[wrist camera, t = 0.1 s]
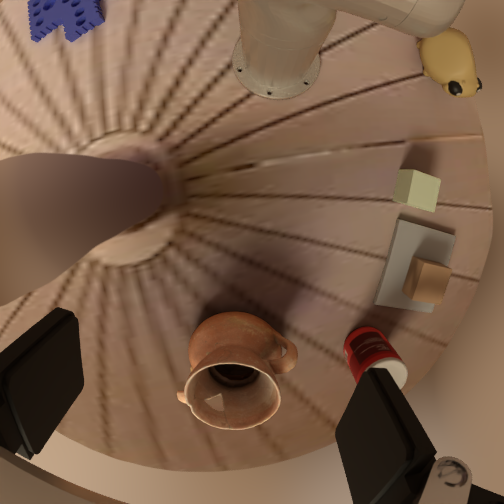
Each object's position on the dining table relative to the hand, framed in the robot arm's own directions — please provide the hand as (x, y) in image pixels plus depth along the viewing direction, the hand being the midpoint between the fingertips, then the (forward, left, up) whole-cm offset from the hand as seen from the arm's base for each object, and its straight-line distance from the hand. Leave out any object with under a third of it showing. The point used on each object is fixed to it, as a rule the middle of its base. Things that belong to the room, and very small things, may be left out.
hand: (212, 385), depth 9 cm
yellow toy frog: (-32, +26, -37) cm, 55 cm away
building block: (-38, -39, -37) cm, 66 cm away
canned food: (+17, +24, -37) cm, 47 cm away
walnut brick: (+3, +30, -36) cm, 47 cm away
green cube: (-10, +24, -37) cm, 45 cm away
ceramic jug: (+20, +3, -37) cm, 42 cm away
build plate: (+2, +29, -37) cm, 47 cm away
